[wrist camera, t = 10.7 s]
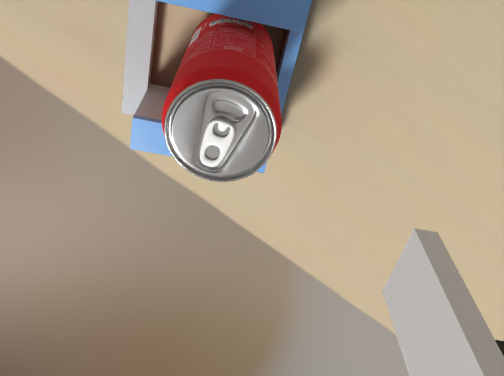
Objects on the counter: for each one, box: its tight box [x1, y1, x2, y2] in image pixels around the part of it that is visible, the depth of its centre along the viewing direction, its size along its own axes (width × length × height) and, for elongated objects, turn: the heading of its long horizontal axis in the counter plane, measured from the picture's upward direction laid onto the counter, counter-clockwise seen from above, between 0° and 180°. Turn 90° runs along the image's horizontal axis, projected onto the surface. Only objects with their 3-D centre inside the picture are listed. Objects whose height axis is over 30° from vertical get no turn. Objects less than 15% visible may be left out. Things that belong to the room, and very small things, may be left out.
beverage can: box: [162, 14, 282, 182], centre depth 24 cm, size 5×5×12 cm
